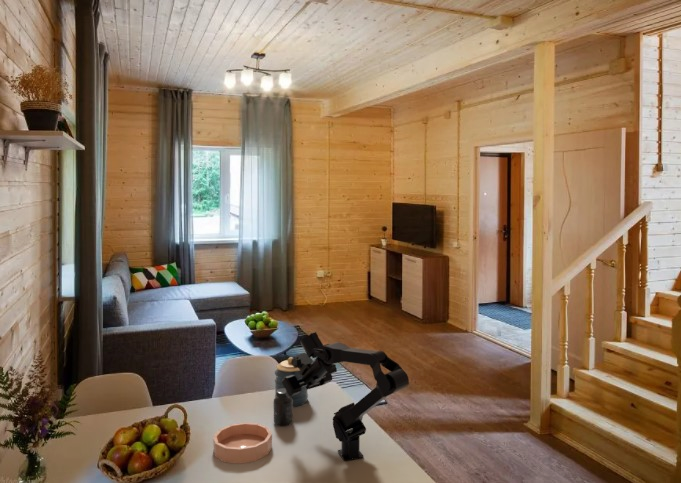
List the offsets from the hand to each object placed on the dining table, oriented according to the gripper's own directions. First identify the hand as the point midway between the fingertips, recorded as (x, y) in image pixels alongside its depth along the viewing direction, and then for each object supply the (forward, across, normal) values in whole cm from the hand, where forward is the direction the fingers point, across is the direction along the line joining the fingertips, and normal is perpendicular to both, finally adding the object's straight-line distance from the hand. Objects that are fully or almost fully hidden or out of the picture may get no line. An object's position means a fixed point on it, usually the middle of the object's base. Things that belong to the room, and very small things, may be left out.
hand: (296, 391), depth 185 cm
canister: (+24, -15, -5) cm, 29 cm away
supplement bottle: (+15, 0, +4) cm, 16 cm away
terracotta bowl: (+11, +21, +8) cm, 25 cm away
